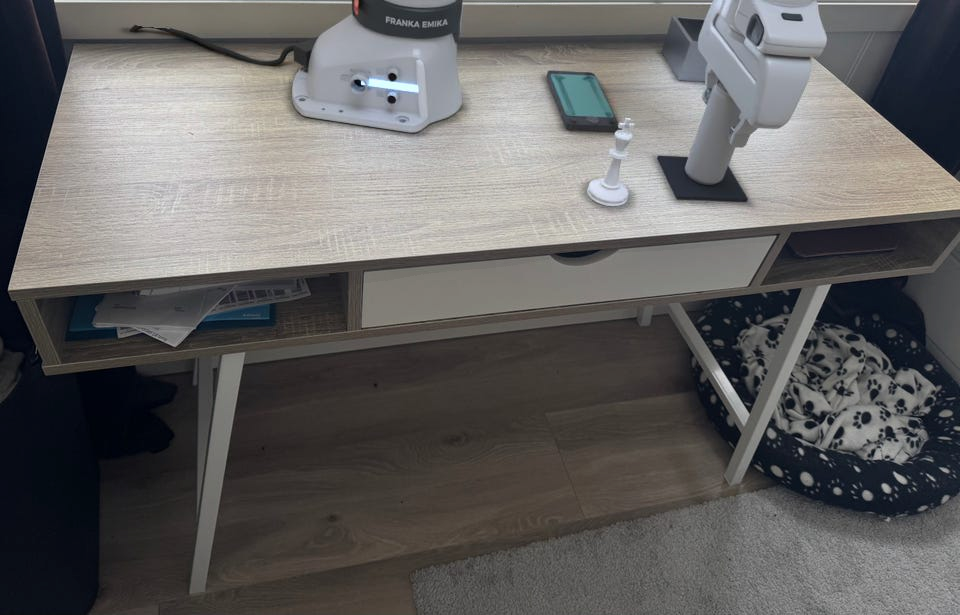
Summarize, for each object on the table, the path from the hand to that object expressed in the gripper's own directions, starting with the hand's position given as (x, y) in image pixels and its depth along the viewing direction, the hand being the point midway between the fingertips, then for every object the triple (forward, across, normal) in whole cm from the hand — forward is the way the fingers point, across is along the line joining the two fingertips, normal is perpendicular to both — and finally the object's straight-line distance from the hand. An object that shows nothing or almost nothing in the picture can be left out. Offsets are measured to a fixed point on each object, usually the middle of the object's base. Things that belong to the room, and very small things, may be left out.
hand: (721, 122), depth 86 cm
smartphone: (+8, -18, -12) cm, 23 cm away
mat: (+8, 0, 0) cm, 8 cm away
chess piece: (+8, +4, -13) cm, 16 cm away
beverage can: (+8, 0, 0) cm, 8 cm away
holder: (+8, -32, +10) cm, 34 cm away
